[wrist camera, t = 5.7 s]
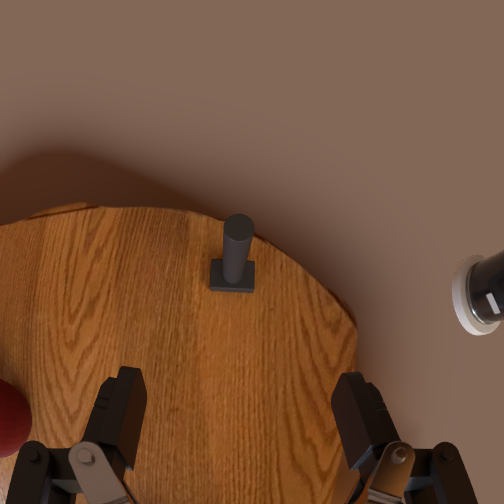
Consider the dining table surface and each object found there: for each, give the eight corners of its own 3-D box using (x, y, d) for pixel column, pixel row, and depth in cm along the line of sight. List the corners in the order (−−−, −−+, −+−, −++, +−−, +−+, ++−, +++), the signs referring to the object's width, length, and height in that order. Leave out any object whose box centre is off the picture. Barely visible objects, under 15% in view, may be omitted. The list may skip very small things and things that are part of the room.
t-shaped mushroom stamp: (253, 265, 32) (272, 209, 20) (252, 292, 31) (273, 251, 19) (212, 263, 31) (206, 205, 19) (210, 290, 30) (203, 247, 18)
